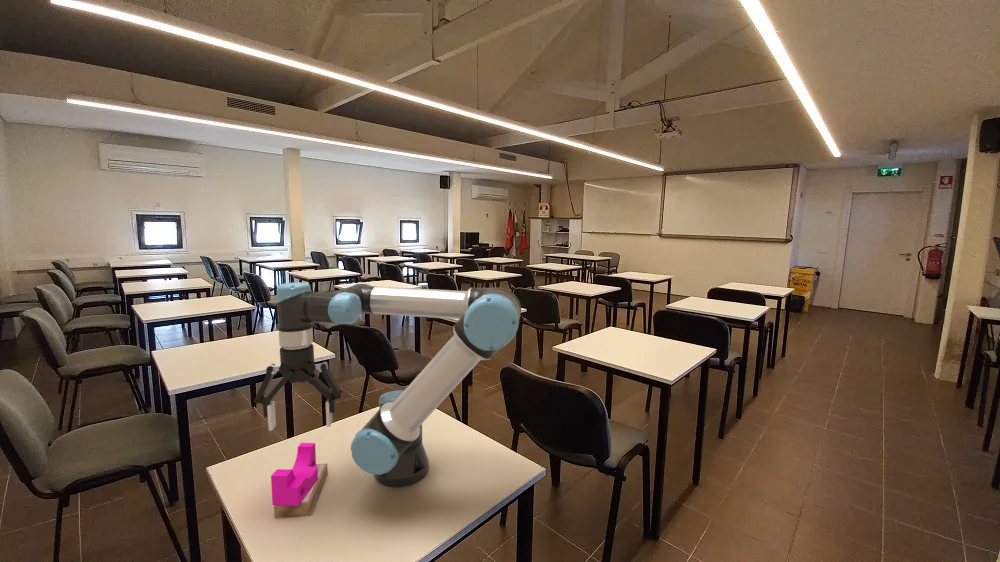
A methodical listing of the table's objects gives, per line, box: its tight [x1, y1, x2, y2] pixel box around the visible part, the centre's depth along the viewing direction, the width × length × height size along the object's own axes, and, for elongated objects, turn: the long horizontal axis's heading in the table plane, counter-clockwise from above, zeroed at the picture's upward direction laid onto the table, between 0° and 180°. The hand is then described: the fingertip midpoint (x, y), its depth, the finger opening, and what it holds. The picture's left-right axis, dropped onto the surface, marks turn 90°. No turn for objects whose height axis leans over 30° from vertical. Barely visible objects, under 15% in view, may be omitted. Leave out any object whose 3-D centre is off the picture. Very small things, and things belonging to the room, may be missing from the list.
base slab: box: [273, 463, 329, 519], centre depth 106 cm, size 8×17×3 cm, turn 10°
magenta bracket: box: [270, 442, 318, 506], centre depth 104 cm, size 15×6×8 cm, turn 0°
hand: (301, 426), depth 104 cm, fingers open, 13 cm apart
